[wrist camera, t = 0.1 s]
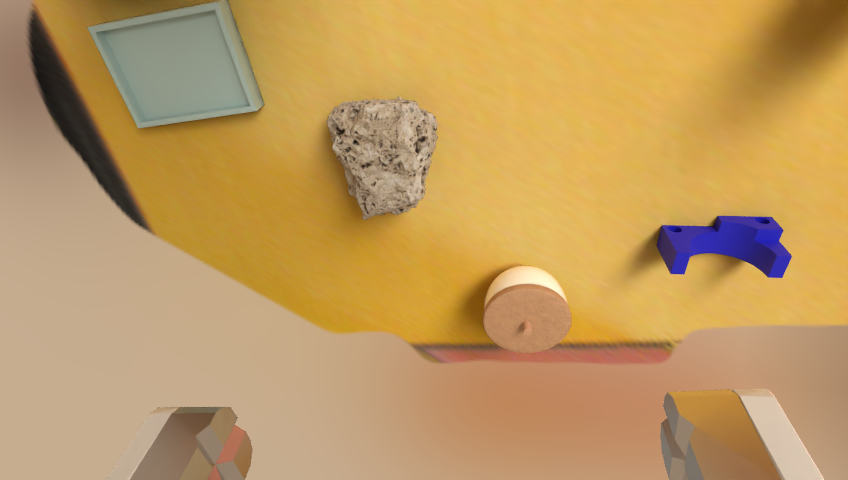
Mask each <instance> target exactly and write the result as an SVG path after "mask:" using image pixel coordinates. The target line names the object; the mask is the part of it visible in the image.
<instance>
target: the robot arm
mask: <svg viewBox="0 0 848 480" xmlns="http://www.w3.org/2000/svg"><path fill="white" fill-rule="evenodd" d="M663 407H664V409H665V412H666V416H667V419H666V420H665V421H663V422H662V423H661V435H660V437H661V447H662V454H663V458H664V463H665V467H666V470H667V473H668V477H669V479H670V480H824V478H823V477H822V475H821V473H820V472H819V470H818V468H817V467H816V465H815V463H814V461H813V460H812V458H811V457H810V455H809V453H808V452H807V450H806V448H805V446H804V445H803V443H802V441H801V440H800V438H799V436H798V435H797V433H796V431H795V430H794V428H793V426H792V425H791V423H790V421H789V420H788V418H787V416H786V415H785V413H784V412H783V410H782V408H781V406H780V405H779V403H778V401H777V400H776V398H775V396H774V395H773V394H772V393H771V392H770V391H769V390H767V389H748V390H747V389H745V390H729V389H726V390H703V391H681V392H667V394H666V395H665V398H664V405H663ZM236 420H237V416H236V415H235V413H234V412H233V410H232V409H231V408H230V407H165V408H157V409H156V410H154V411H153V412H151V413H150V414H149V415H148V417H147V418H146V420H145V421H144V423H143V424H142V426H141V427H140V429H139V430H138V432H137V433H136V435H135V436H134V437H133V439H132V441H131V442H130V443H129V445H128V446H127V448H126V449H125V451H124V452H123V454H122V455H121V457H120V458H119V460H118V461H117V463H116V464H115V466H114V467H113V468H112V470H111V472H110V473H109V474H108V476H107V477H106V479H105V480H245V478H246V475H247V473H248V470H249V468H250V464H251V457H252V446H251V441H250V438H249V436H248V435H247V433H246V431H244V430H242V429H241V428H239V427H238V426H236V425H235V423H236Z"/></svg>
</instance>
